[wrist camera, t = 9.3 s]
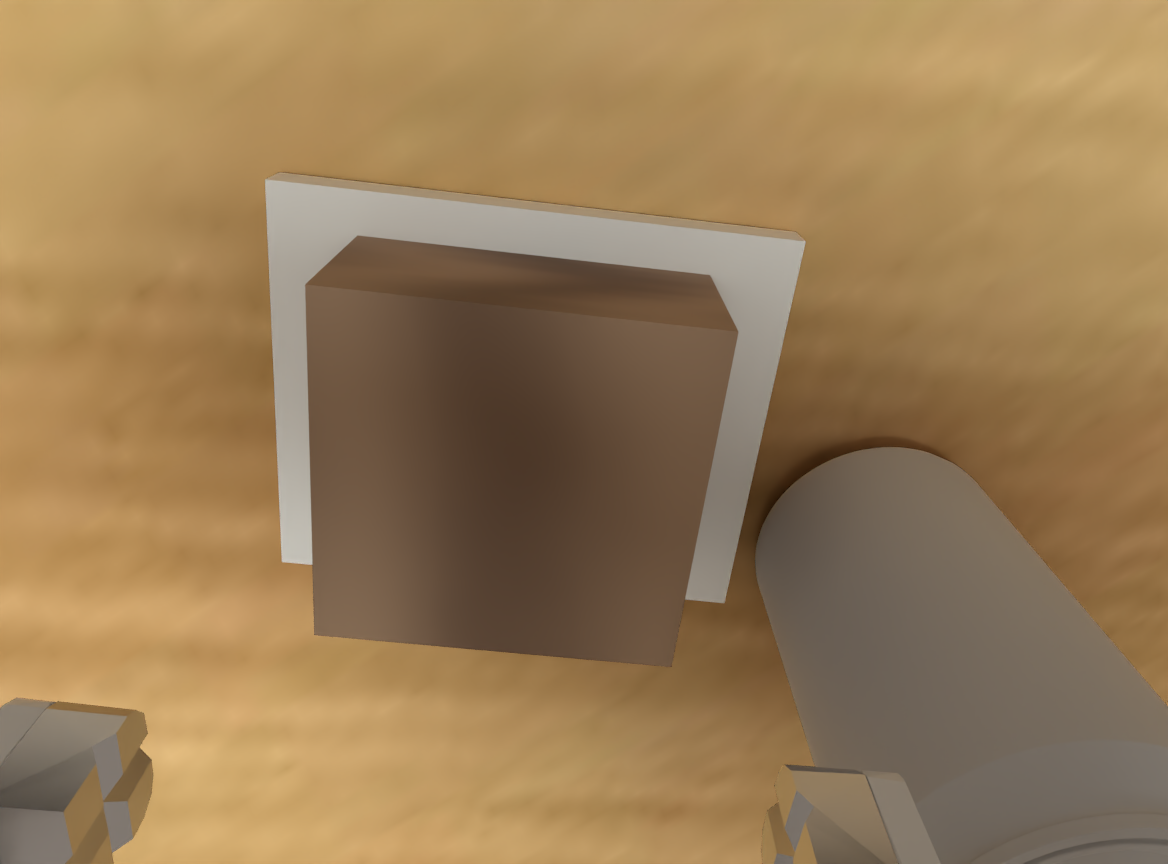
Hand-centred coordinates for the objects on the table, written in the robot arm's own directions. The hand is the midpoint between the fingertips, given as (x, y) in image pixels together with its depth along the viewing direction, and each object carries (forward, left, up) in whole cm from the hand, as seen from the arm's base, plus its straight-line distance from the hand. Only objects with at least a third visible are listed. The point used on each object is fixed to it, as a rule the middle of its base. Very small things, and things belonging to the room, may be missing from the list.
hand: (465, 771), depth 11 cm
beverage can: (-10, +3, -12) cm, 16 cm away
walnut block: (0, 0, -11) cm, 11 cm away
